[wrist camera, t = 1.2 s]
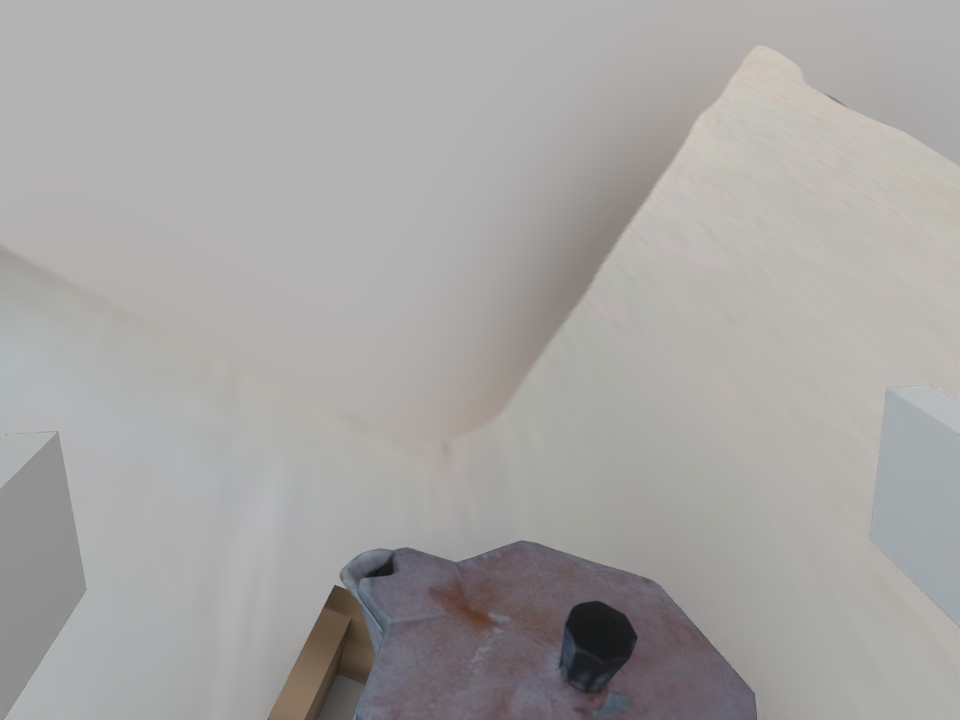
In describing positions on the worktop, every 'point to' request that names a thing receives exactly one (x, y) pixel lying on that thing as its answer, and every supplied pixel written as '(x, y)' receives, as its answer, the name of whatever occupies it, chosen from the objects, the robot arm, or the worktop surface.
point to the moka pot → (532, 641)
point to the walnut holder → (327, 658)
